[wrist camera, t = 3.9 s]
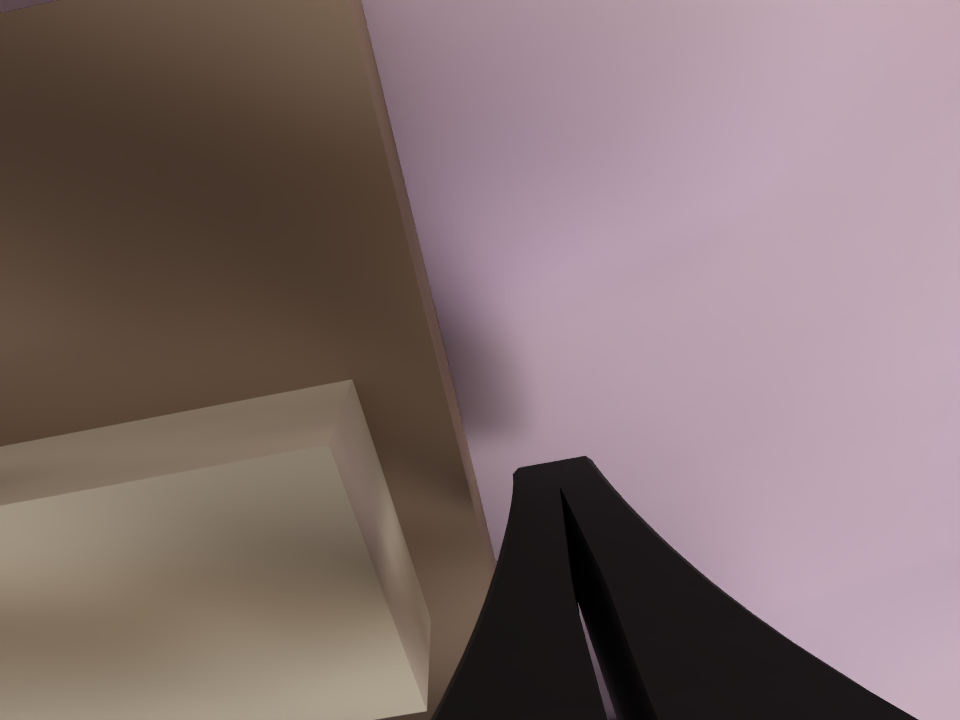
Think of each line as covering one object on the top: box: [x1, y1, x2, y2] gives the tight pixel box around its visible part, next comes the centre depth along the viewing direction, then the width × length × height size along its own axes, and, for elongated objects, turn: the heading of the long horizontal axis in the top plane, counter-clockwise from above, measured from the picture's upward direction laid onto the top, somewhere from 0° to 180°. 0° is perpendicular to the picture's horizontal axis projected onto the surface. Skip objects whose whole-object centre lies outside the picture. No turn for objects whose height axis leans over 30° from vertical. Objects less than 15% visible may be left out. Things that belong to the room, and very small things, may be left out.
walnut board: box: [0, 0, 496, 720], centre depth 12 cm, size 18×13×2 cm
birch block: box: [0, 379, 431, 720], centre depth 10 cm, size 6×10×2 cm, turn 101°
